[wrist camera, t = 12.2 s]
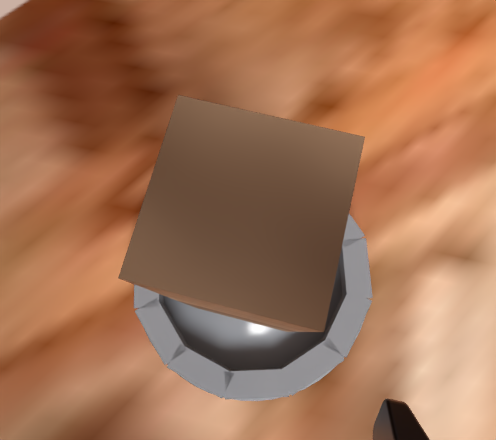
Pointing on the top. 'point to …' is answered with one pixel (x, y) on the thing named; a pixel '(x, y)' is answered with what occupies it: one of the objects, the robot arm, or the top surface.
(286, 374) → the gray bowl
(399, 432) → the robot arm
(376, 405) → the top surface
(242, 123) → the walnut block
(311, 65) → the top surface
